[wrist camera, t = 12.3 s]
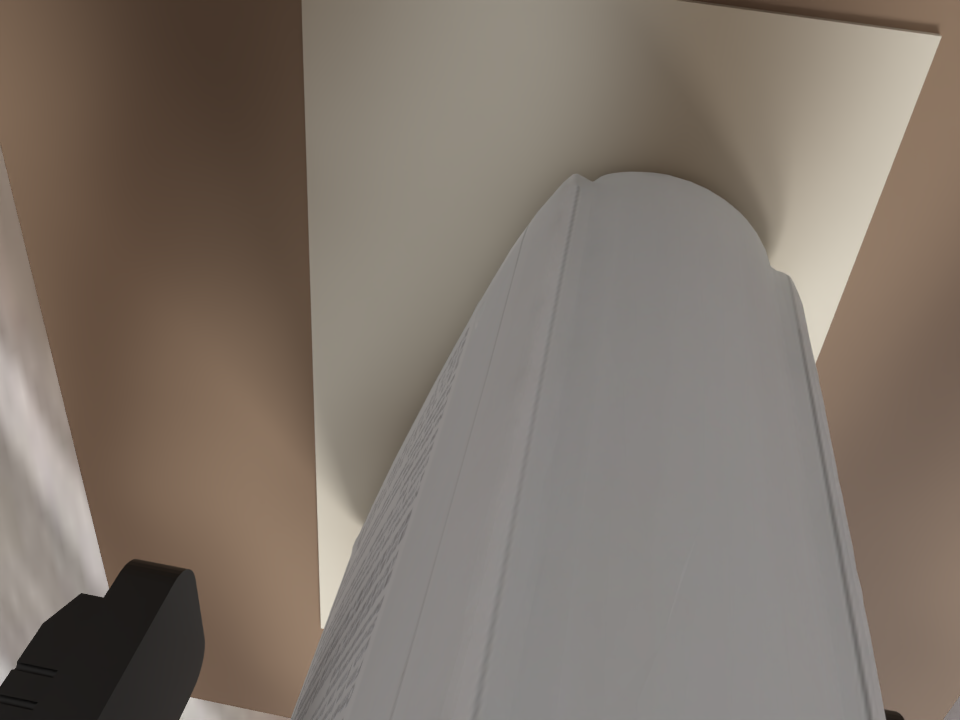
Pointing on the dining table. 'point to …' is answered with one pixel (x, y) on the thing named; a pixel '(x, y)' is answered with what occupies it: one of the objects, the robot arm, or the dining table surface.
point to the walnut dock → (459, 260)
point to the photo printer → (611, 493)
